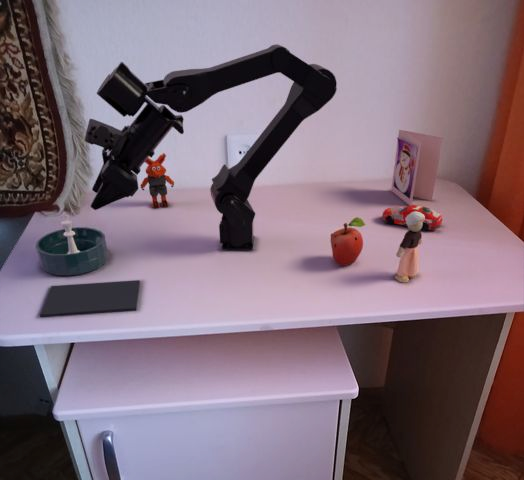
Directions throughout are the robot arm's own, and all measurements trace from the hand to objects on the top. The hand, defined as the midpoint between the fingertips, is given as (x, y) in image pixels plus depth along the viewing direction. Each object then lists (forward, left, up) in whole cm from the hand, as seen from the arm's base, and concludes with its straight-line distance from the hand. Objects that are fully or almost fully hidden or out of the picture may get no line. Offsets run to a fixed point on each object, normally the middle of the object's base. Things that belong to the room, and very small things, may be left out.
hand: (93, 199), depth 102 cm
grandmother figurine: (-59, +6, -12) cm, 61 cm away
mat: (-2, +16, -12) cm, 20 cm away
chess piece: (+6, +2, -12) cm, 13 cm away
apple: (-48, +1, -12) cm, 50 cm away
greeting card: (-67, -36, -12) cm, 78 cm away
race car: (-64, -19, -12) cm, 68 cm away
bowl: (+6, +2, -12) cm, 14 cm away
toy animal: (-5, -28, -12) cm, 32 cm away
